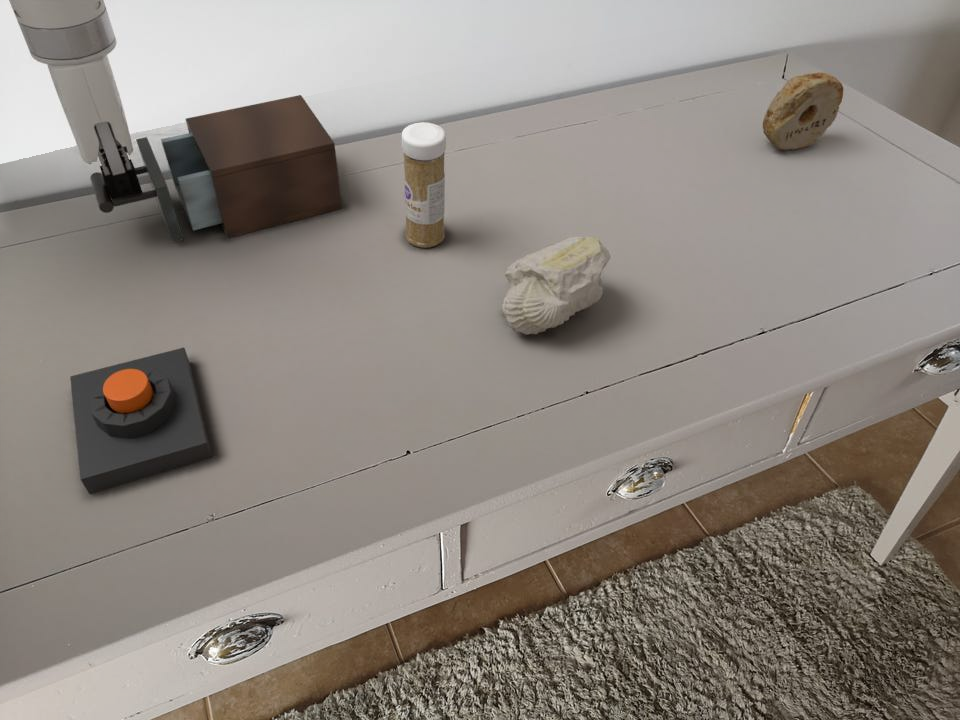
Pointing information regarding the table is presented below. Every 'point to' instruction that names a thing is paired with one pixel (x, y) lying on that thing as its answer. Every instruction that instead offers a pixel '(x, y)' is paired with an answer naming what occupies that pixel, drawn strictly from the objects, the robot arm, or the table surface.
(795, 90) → the stone disc
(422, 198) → the sprinkles bottle
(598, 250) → the fossil replica
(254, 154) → the drawer cabinet
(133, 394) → the button
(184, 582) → the table surface
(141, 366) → the control block
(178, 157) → the grey drawer
